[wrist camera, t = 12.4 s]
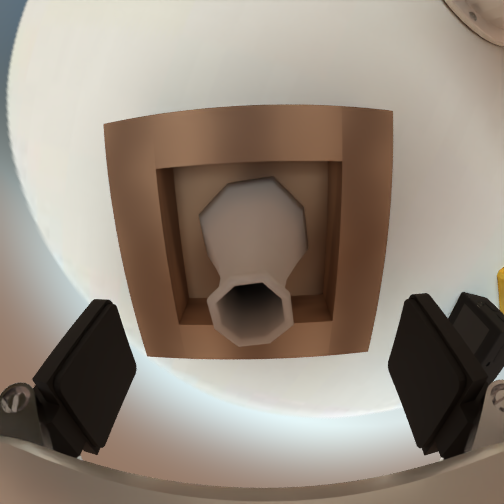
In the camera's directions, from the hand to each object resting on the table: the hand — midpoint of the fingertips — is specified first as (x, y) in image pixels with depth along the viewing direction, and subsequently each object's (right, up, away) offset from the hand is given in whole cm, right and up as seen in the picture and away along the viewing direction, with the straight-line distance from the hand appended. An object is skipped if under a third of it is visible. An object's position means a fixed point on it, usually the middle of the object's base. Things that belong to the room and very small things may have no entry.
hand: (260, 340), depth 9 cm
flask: (0, +4, +11) cm, 12 cm away
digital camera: (+20, -6, +16) cm, 26 cm away
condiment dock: (0, +4, +12) cm, 13 cm away
